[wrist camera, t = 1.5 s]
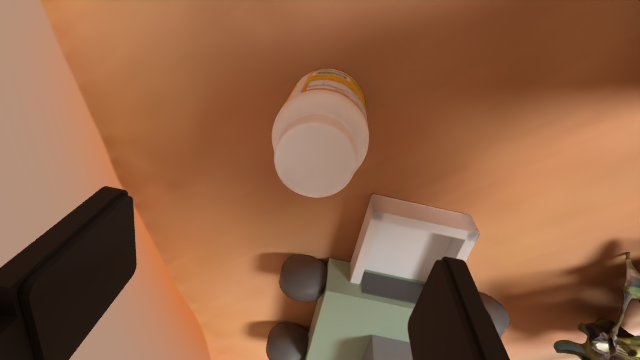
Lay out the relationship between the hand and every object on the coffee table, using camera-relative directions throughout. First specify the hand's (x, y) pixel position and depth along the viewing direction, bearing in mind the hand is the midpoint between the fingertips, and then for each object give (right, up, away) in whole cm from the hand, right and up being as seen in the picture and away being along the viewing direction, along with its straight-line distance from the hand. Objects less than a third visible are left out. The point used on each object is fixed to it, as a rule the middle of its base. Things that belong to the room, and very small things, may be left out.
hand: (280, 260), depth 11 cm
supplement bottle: (+2, +8, +15) cm, 17 cm away
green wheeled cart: (+7, -7, +22) cm, 24 cm away
